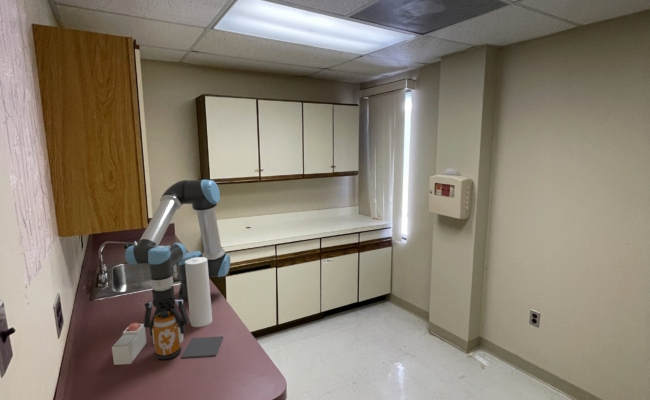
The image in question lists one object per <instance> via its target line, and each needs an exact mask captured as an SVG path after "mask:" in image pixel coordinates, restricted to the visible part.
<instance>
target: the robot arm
mask: <svg viewBox="0 0 650 400" xmlns="http://www.w3.org/2000/svg"><path fill="white" fill-rule="evenodd" d="M220 195H221V193H220V188H219V186H218V184H217V183H216V182H215V181H214V180H212V179H192V180H191V179H190V180H187V179H184V180H179V181H177V182H175V183H173V184H171V186H169V187H168V188H167V189H166V190H165V191H164V192H163V194H162V195H161V197H160V199H159V206H157V209H156V211H155V212H154V214H153V215H152V218H151V219H150V221H149V222H148V225H149V226H148V225H147V226H148V227H147V226H146V228H145V230H144V232H143V233H142V236H141V238H140V239H139V240H138V242H137V244H134V245H130V246H129V247H127V248H126V250H125V252H124V253H125V254H124V255H125V256H124V257H125V261H126V262H127V263H128V264H130V265H148V267H149V275H150V284H151V285H150V286H151V289H152V290H151V292H152V301H151V300H148V301H146V302H145V303H144V308H145V312H144V314H145V315H144V322H143V324H144V327H145V328H148V329H149V335H150V336H151V337H152V341H153V345H154V346H155V341H154V333H153V325H154V318H155V317H156V315H157V314H159V313H160V309H161V307H166V308H167V311H169V313H171V314H172V315H173V316H174V317H175V320H176V322H177V323H178V325H179V326H178V336H179V343H182V342H183V341H184V334H185V332H186V327H185V326H187V325H188V324H189V322H190V317H189V316H188V313H187V310H186V307H185V305H184V304H185V303H184V301H188V290H187V279H186V269H185V261H186V260H188V259H191V258H196V257H205V258H207V262H208V274H209V278H211V277H212V278H213V277H215V278H216V277H218V278H220V277H225V276H227V275H228V273H229V271H230V267H231V255H230V254H228V253H226V250H225V249H224V248H222V243H221V237H220V233H219V226H218V222H217V221H218V220H217V216H216V215H217V214H216V209H215V208H216V207H217V205H218V203H219V202H220V200H221V197H220ZM183 205H191V208H192V210H194V211H196V213H197V221H198V224H199V228H200V229H199V230H200V236H201V239H202V244H203V245H202V246H203V251H204V252H203V253H202V252H201V251H200V250H194V251H190V252H187V248H186V246H185V245H184V244H183V243H181V242H175V243H172V244H169V245H167V244H166V245H165V244H164V245H163V244H162V245H160V243H161V241H162V239H163V238H164V235H165V233H166V232H167V230H168V228H169V225H170V224H171V223H172V220H173V218H174V216H175V213H176V212H177V210H179V209H180V208H181V207H182V206H183ZM177 264H178V268H179V269H178V270H179V278H180V284H179V288H178V292H177V294H178V295H177V297H178V299H176V298H175V286H174V278H173V268H172V267H174V266H175V265H177ZM175 304H176V306H177V307H178V308H177V307H176V306H175ZM153 306H154V307H155V308H156V309H155V311H154V313H153V316H152V310H153V309H152V308H153ZM177 309H178V310H177ZM151 316H152V319H151Z"/></svg>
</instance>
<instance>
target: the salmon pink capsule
mask: <svg viewBox="0 0 650 400" xmlns="http://www.w3.org/2000/svg"><path fill="white" fill-rule="evenodd" d="M139 324H140V323H138V322H132V323H130V324H129V325H128V326H127V327H128V328H129V331H137V330H138V329H139Z"/></svg>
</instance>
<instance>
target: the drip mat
mask: <svg viewBox="0 0 650 400" xmlns="http://www.w3.org/2000/svg"><path fill="white" fill-rule="evenodd" d="M223 340H224V336H223V335H222V336H221V335H220V336H205V337H203V336H202V337H192V338H191V339H190V340H189V342H188V344H187V345H186V347H185V349H184V350H183V353H182V355H181V356H180V359H188V358H189V359H190V358H191V359H193V358H194V359H195V358H207V357H208V358H210V357H217V355H218V352H219V349H220V347H221V344H222V343H223V342H222V341H223Z"/></svg>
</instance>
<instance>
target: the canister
mask: <svg viewBox="0 0 650 400" xmlns="http://www.w3.org/2000/svg"><path fill="white" fill-rule="evenodd" d="M178 326H179V325H178V323H177V322H176V320H175V317H174V316H173V315H172V314H171V313H169V311H167V308H166V307H161V309H160V313H159V314H157V315H156V317H155V318H154V325H153V333H154V341H155V345H154V348H155V356H156V358H157V359H160V360H167V359H171V358H174V357H176V356H178V355H179V354H180V353H181V351H182V344H181V343H182V342H181V343H179V336H178Z"/></svg>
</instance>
